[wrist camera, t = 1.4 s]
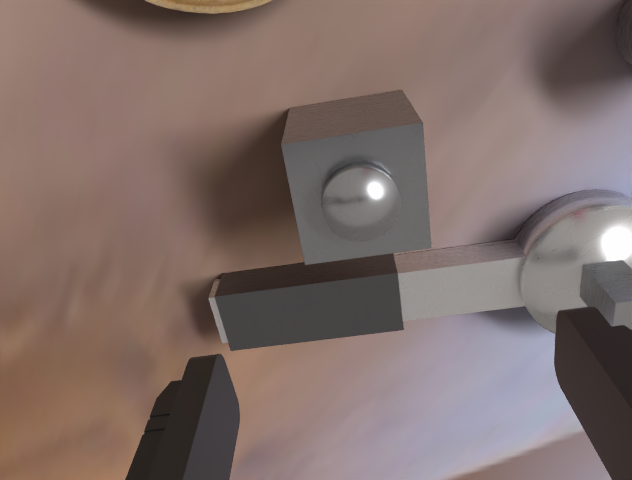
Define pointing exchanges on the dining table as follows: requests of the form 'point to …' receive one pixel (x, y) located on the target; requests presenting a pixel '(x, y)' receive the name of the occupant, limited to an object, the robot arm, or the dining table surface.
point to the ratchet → (442, 280)
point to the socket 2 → (625, 31)
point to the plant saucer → (209, 5)
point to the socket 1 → (357, 177)
